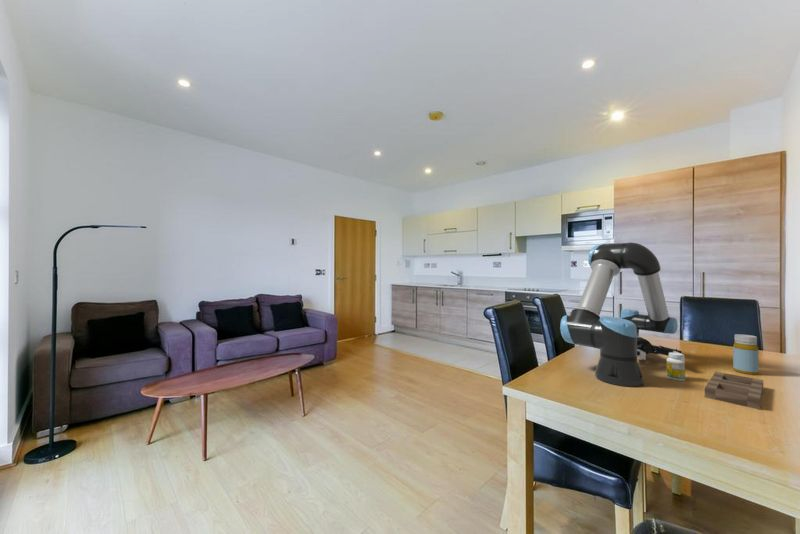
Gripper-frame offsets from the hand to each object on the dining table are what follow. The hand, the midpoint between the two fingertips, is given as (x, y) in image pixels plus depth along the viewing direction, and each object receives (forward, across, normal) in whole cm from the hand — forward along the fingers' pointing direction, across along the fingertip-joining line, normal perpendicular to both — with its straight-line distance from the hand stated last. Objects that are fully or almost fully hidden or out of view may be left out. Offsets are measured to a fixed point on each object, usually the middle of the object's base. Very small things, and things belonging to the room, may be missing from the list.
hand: (663, 357), depth 130 cm
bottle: (-7, -32, -6) cm, 33 cm away
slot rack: (+20, -11, -6) cm, 24 cm away
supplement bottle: (+9, 0, -6) cm, 11 cm away
